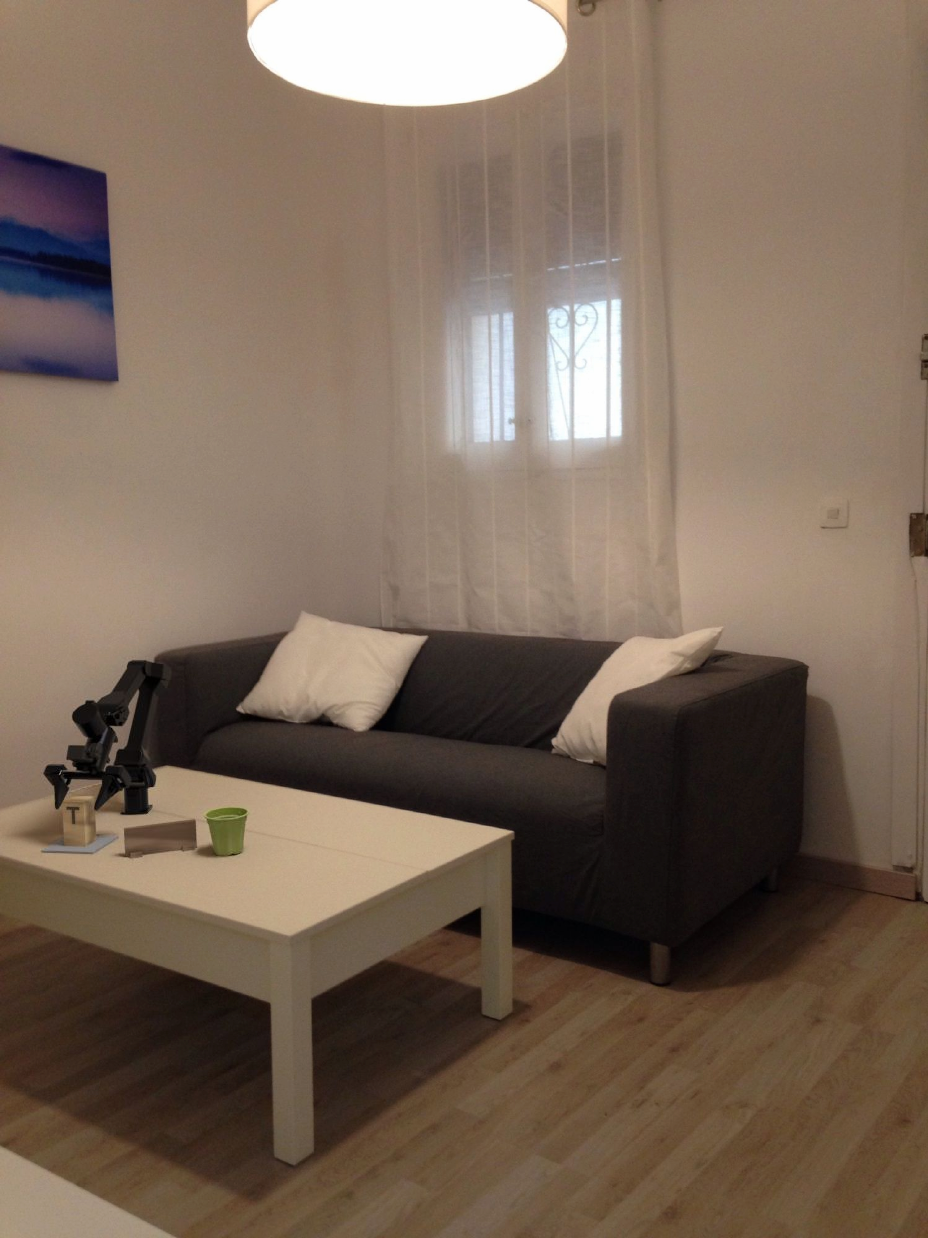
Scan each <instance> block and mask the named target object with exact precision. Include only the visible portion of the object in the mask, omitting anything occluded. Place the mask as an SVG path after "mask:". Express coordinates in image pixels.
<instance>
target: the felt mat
mask: <svg viewBox="0 0 928 1238" xmlns="http://www.w3.org/2000/svg"><path fill="white" fill-rule="evenodd" d="M119 837H120V836H119V835H99V834H96V838H97V840H96V841H94V842H93V843H91V844H90V845H88V846H86V847H75V846H64V837H62V838H60V839H58V840H57V841H55V842H54V843H52V844H50V845H48V846H47V847H45V848H43V849H41V853H52V854H53V853H55V854H57V853H58V854H59V853H60V854H79V855H81V854H83V855H85V854H86V855H94V854H95V853H97V852H98V851H100V850H102V849H104V848H105V847H107V846H108V845H110V844H111V843H113V842H114V841H116V840H118V839H119Z"/></svg>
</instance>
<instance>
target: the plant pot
mask: <svg viewBox="0 0 928 1238" xmlns="http://www.w3.org/2000/svg"><path fill="white" fill-rule="evenodd" d="M249 810H250V809H248V808H245V807H241V806H225V807H218V808H214V809H210V810H208V811H206V812H205V813H204V814H203V817H204V818H205V819H206V824H207V825H208V829H209V833H210V834H209V835H210V837H211V843H212V849H213V853H215V855H217V856H225V857H227V856H228V857H229V856H231V855H232V854H235V855H238V854H240V853H241V852H243V851H244V842H245V841H244V839H245V832H246V831H245V830H246V821H247V819H248V816H249V814H250V811H249Z"/></svg>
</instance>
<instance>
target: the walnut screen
mask: <svg viewBox="0 0 928 1238" xmlns="http://www.w3.org/2000/svg"><path fill="white" fill-rule="evenodd" d="M197 837H198V836H197V820H196V819H194V818H192V819H184V820H183V819H182V820H177V821H168V822H160V823H159V822H158V823H152V824H145V825H143V824H142V825H137V826H127V827H123V838H124V839H123V841H124V856H125V858H130V859H134V858H141V857H143V855H152V854H158V853H166V852H173V851H180V850H182V852H186V851H194V850H195V848H198V842H197V841H198V839H197Z"/></svg>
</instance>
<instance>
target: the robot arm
mask: <svg viewBox="0 0 928 1238" xmlns="http://www.w3.org/2000/svg"><path fill="white" fill-rule="evenodd" d="M122 673H123V674H122V675H121V676H120V678H119V680H118V681H117V682H116V685H114V687H113V689H112V691H110V693H108V694H106V695H104V696H102V697H101V698H100V699H98V701H95V700H93V699H92V700H91V699H88V700H85V702H84V704H82V705H79V706H78V707H77V708H76V709H74V711H72V714H71V720H72V721H73V723H74V725H76V728H77V729H78V730H79V732H80V733H81V734H82V736H84V737H85V738H87V739H86V742H85V744H82V745H81V744H79V745H78V744H69V745H68V746H67V750H66V755H65V756H66V757H65V760H67V761H71V762H72V763H71V765H72V767H73V768H76V769H73V770H71V769H68V768H67V767H66V765H65V764H64V763H63V764H60V763H49V764H47V765H46V766H45V768H44V770H43V773H42V774H43V776H44V777H45V778H46V780H47V781H48V782H49V783H50V785H51V786H53V790H54V792H53V793H54V794H53V795H54V808H55V810H59V809H60V808H61V807H62V801H64V800H65V798H66V796H67V794H68V792H69V790H70V787H69V785H70V784H71V782H72V780H87V781H101V785H100V789H99V791H98V794H97V797H96V800H95V805H94V810H95V812H96V811H97V812H98V811H99V809H101V808H102V807H103V806H104V805H105V804H106V803H107V802H108V801H109V800H110V799H111V798H112V797H114V796H115V795H116V794H117V793H119V792H123V799H124V800H123V801H124V807H123V809H122V810H121V811H120V815H133V814H134V815H137V814H139V815H140V814H148V813H149V812H150V810H151V809H152V808H153V804H149V789H150V788H154V787H155V786H156V785H157V784H156V782H157V775H156V773H155V771H153V768H152V767H151V758H150V757H149V754H148V752H147V749H148V746H149V741H150V736H151V730H152V727H153V722H154V718H155V713H156V710H157V703H158V700H159V697H160V696H162V695H163V693H165V691H166V690H167V689H168V686H169V683H170V680H171V679H172V675H173V672H172V668H171V666H169V665H168V663H166V662H164V661H163V662H158V661H157V662H152V661H150V660H147V659H132V660H129V661H128V662H127V664H126V669H125V670H124V672H122ZM137 692H138V696H137V700H136V703H135V709H134V712H133V718H132V721H131V724H130V725H131V726H130V730H129V734H128V738H127V743H126V745H125V746H124V747H123V748H118V749H117V751H116V753H115V758H114V762H113V764H110V762H111V758H110V756H109V755H110V752H111V751H112V748H113V744H115V743H116V744H117V743H119V737H118V735H117V732H116V731H115V730H114V728H113V727H123V726H124V725H125V724H126V722H127V720H128V719H129V715H130V714H131V713H130V709H129V708H130V707H129V705H130V703H131V702H132V700H133V698H134V697H135V695H136V693H137ZM107 764H109V765H107ZM106 765H107V766H106Z"/></svg>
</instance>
